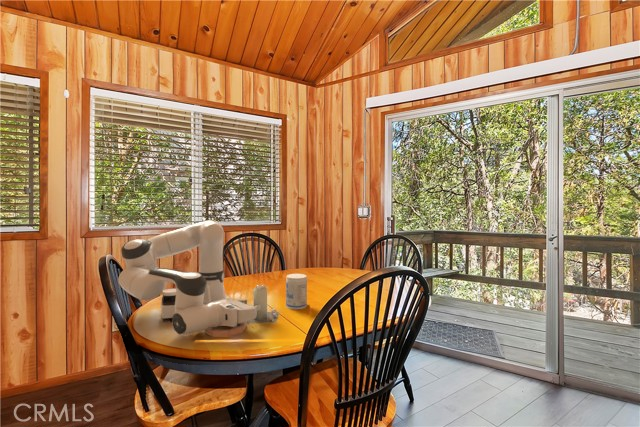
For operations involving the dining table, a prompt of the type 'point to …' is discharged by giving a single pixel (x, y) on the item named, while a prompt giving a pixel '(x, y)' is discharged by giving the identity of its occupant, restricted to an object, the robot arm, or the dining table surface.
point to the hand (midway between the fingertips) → (252, 304)
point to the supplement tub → (296, 291)
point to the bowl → (226, 331)
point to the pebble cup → (260, 301)
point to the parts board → (271, 317)
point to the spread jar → (168, 304)
